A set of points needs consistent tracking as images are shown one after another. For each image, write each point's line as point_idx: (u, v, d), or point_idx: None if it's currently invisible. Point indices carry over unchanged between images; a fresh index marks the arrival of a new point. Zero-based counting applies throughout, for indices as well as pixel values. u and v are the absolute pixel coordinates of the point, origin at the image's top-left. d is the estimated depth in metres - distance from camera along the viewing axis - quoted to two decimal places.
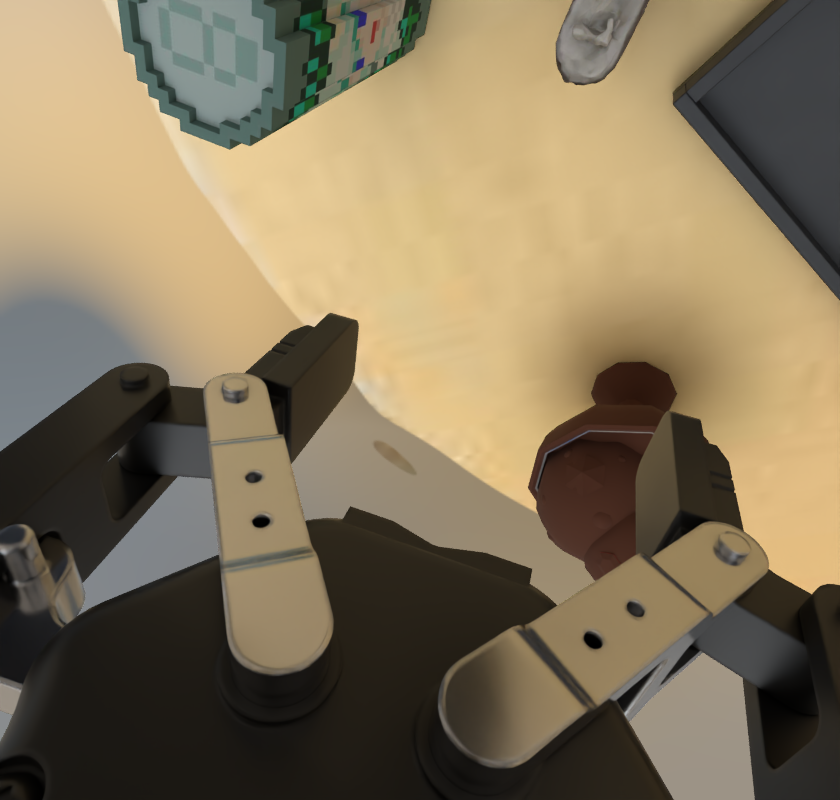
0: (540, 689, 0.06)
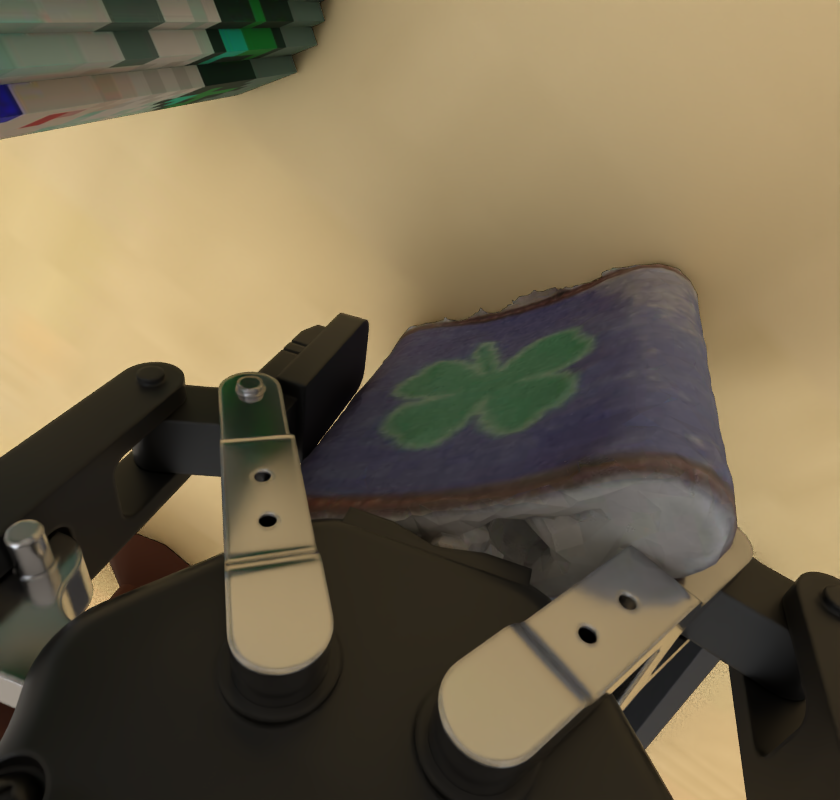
0: (538, 686, 0.06)
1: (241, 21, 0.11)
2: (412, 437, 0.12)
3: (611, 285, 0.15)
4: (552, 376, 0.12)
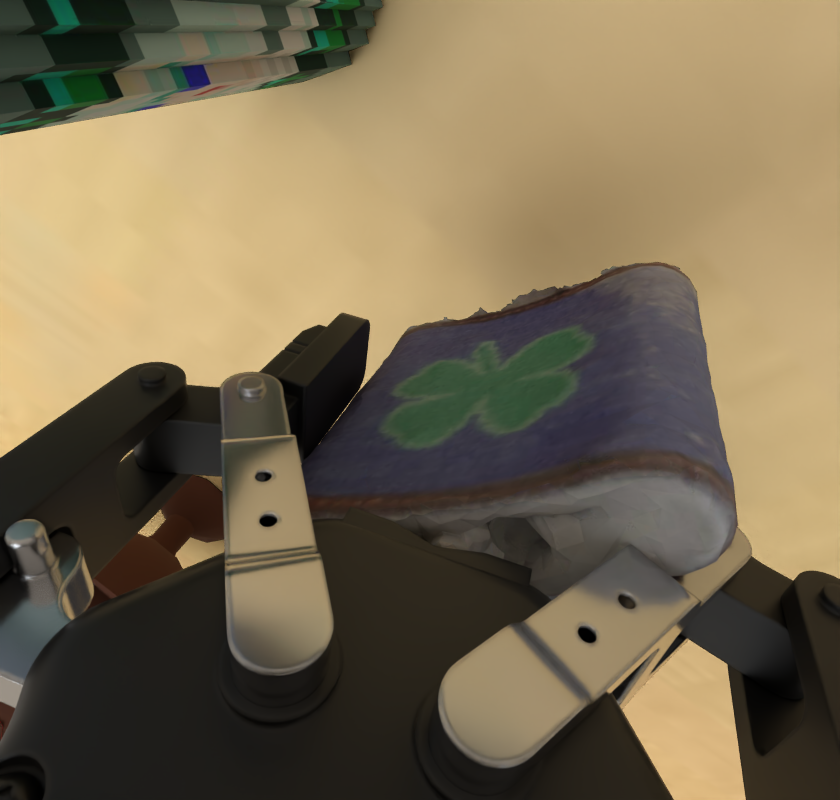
0: (538, 687, 0.06)
1: (329, 25, 0.16)
2: (412, 436, 0.12)
3: (610, 283, 0.15)
4: (552, 375, 0.12)
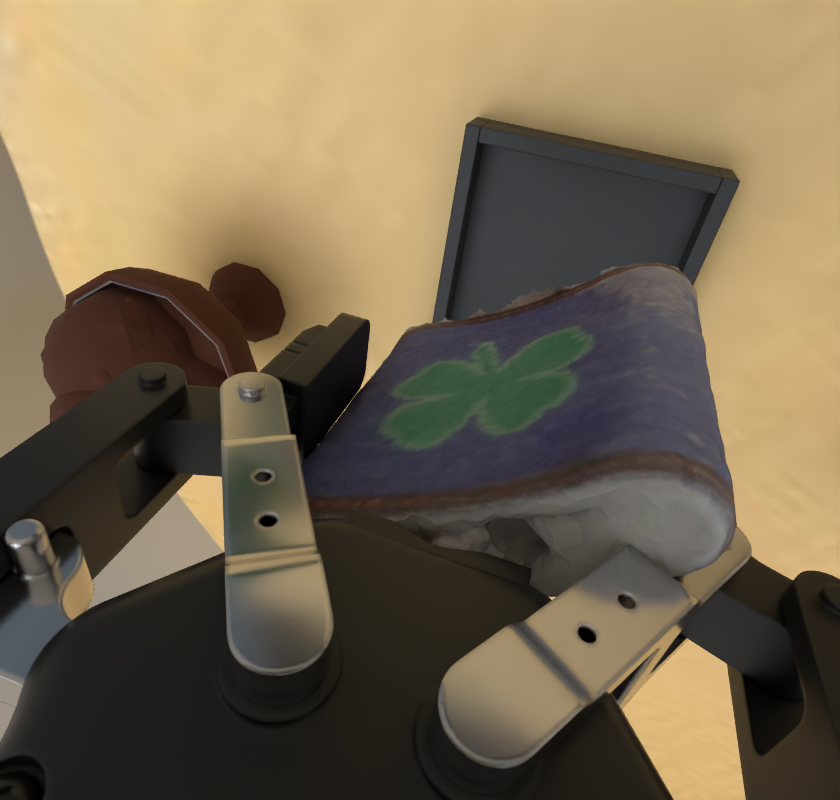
0: (539, 686, 0.06)
1: None
2: (411, 437, 0.12)
3: (609, 284, 0.15)
4: (551, 376, 0.12)
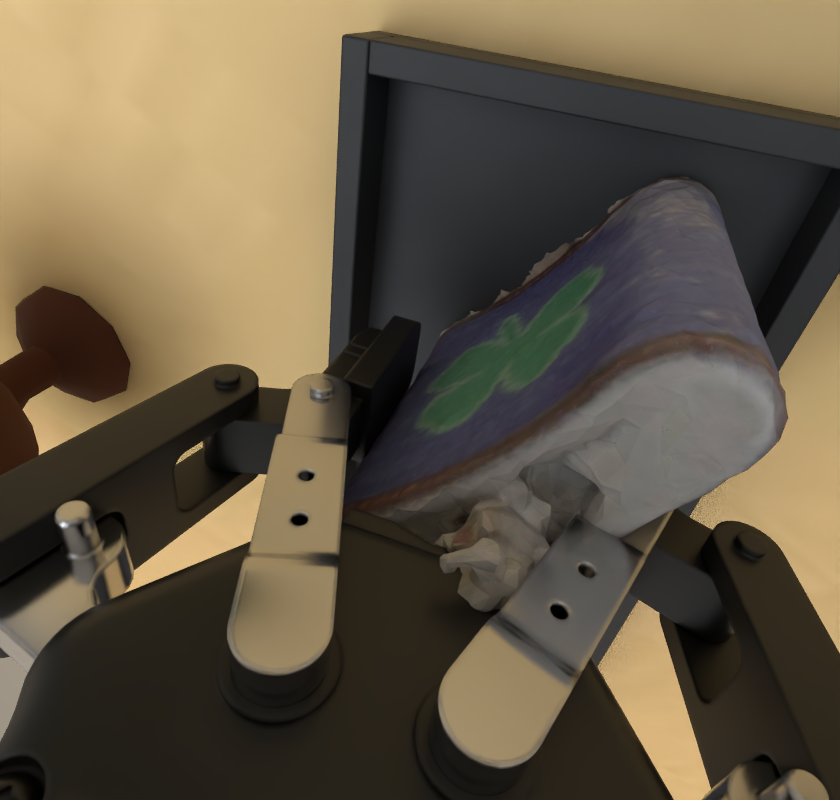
0: (530, 675, 0.07)
1: None
2: (443, 422, 0.12)
3: (617, 217, 0.14)
4: (567, 318, 0.11)
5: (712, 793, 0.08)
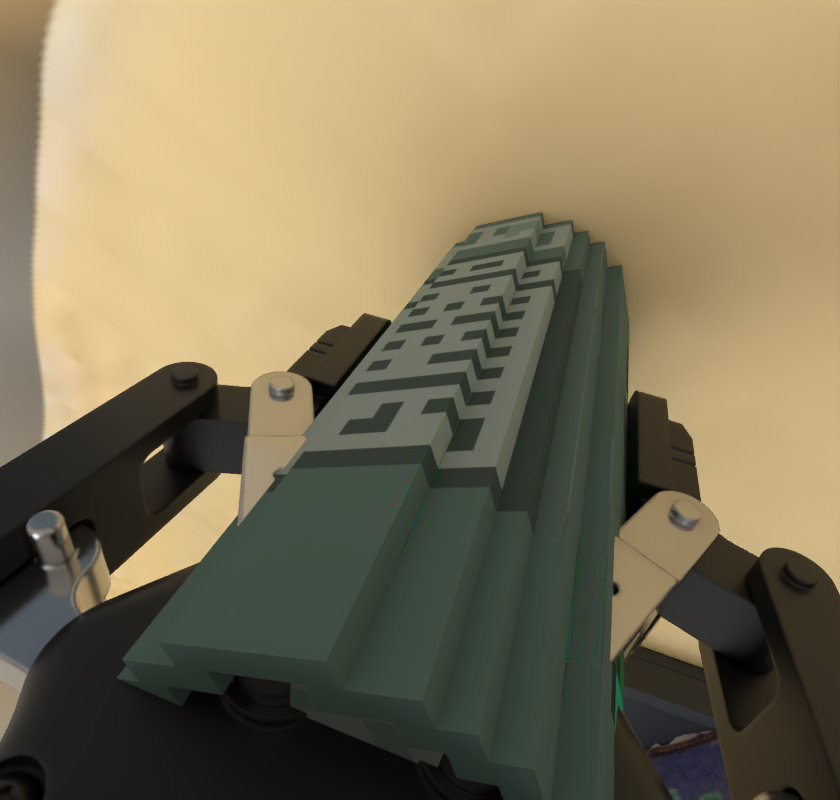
0: None
1: None
2: None
3: None
4: None
5: None
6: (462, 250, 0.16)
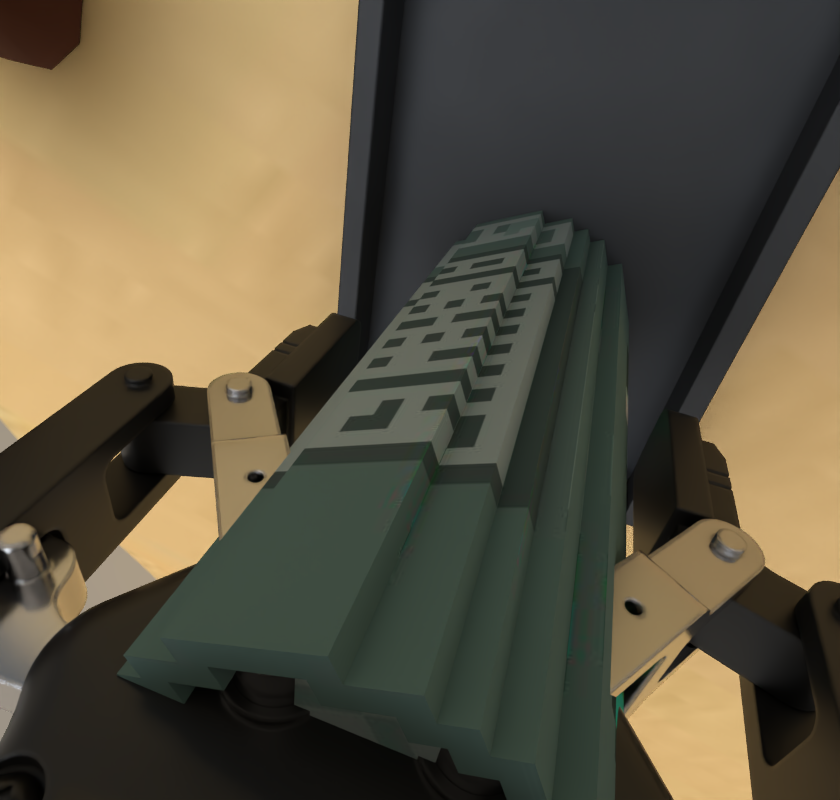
0: None
1: None
2: None
3: None
4: None
5: None
6: (462, 248, 0.16)
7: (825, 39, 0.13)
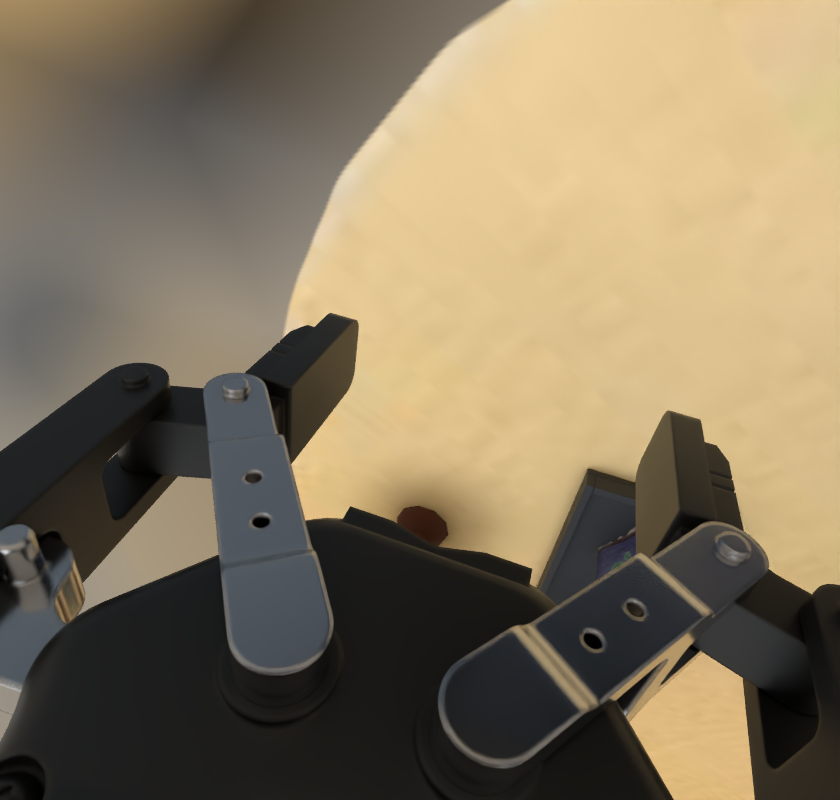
0: (540, 689, 0.06)
1: None
2: None
3: None
4: None
5: None
6: None
7: None
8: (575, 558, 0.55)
